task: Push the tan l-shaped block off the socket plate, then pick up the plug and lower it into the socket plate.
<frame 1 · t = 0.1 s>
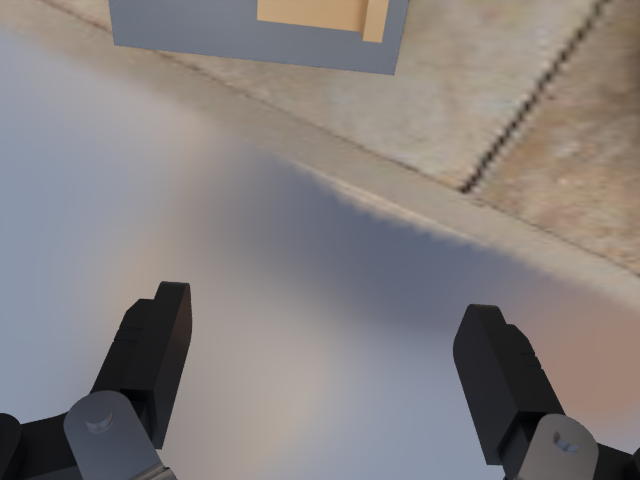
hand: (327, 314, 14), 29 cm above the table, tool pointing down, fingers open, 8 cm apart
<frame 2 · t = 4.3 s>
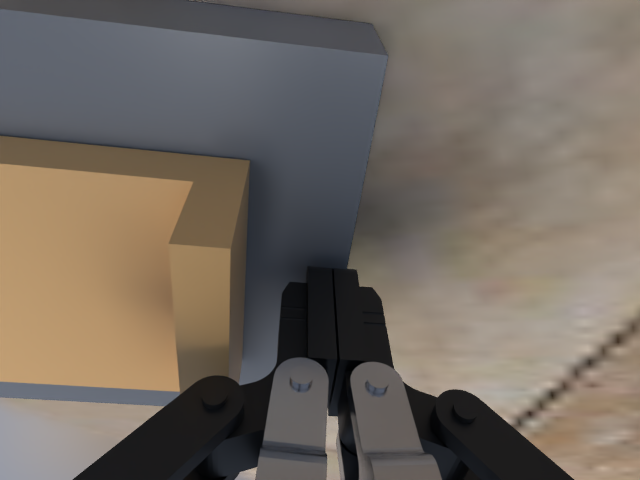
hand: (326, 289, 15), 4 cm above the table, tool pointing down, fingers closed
socket plate: (63, 197, 17), on the table
tan l-shaped block: (89, 311, 13), point 6 cm above the table, slide at 1.1 cm, touching gripper
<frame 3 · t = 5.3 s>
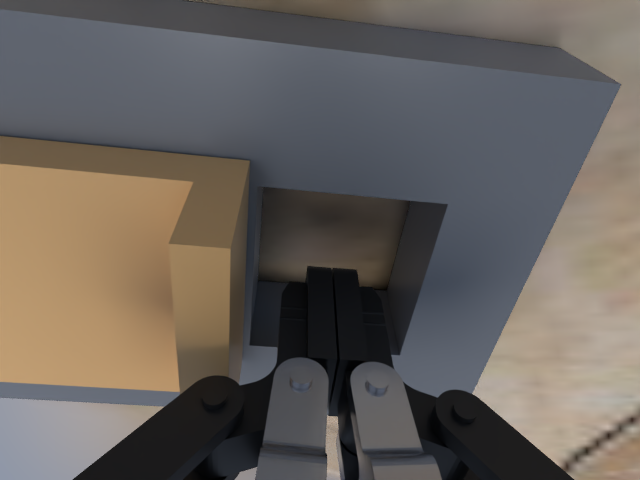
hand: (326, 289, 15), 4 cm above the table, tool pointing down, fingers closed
socket plate: (226, 212, 18), on the table
tan l-shaped block: (89, 311, 13), point 6 cm above the table, slide at 6.9 cm, touching gripper
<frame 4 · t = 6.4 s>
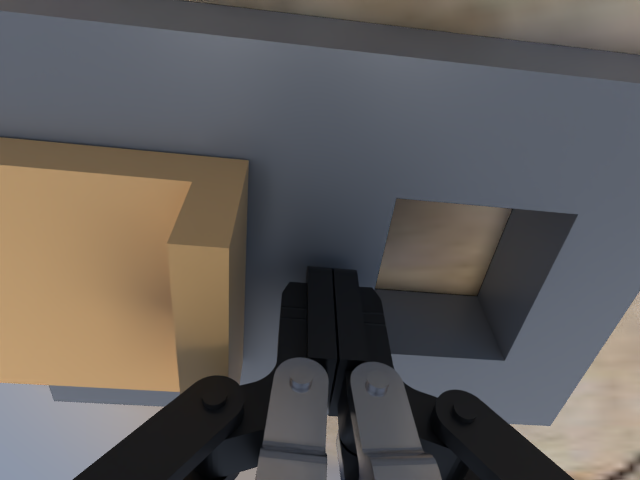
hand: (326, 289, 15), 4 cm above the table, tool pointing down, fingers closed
socket plate: (331, 221, 18), on the table
tan l-shaped block: (89, 312, 13), point 6 cm above the table, slide at 10.8 cm, touching gripper
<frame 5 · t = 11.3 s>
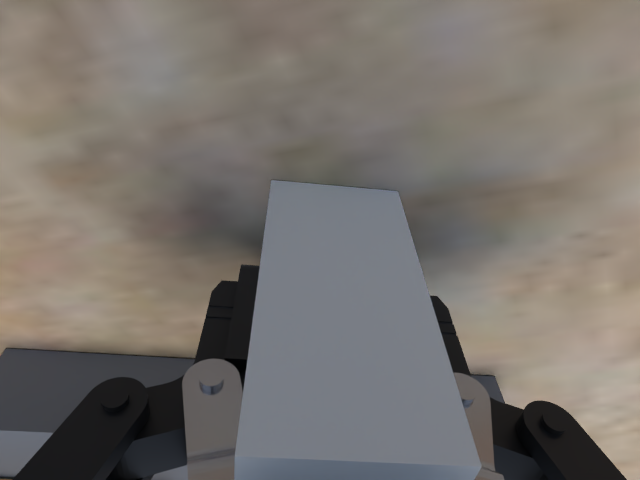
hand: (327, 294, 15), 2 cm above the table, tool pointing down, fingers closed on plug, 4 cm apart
socket plate: (254, 456, 24), on the table
plug: (325, 249, 16), on the table, touching gripper
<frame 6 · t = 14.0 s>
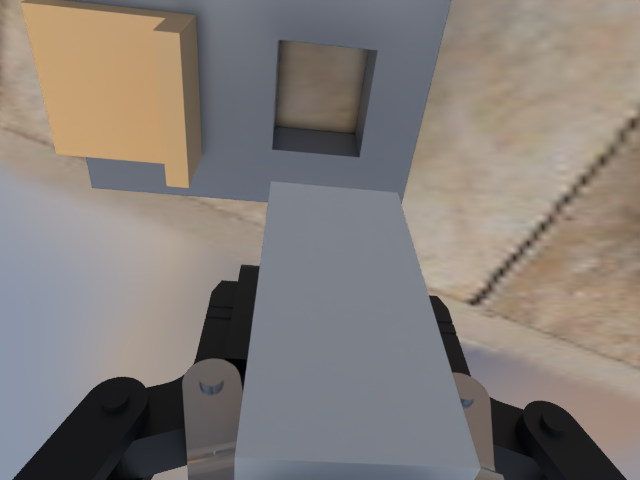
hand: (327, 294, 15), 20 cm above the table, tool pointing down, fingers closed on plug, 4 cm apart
socket plate: (257, 76, 30), on the table
plug: (325, 250, 16), point 17 cm above the table, touching gripper
tan l-shaped block: (114, 96, 25), point 6 cm above the table, slide at 10.9 cm
when the fingers open (4 cm above the table, at t = 16.9 s): plug drops 2 cm, resting in socket plate.
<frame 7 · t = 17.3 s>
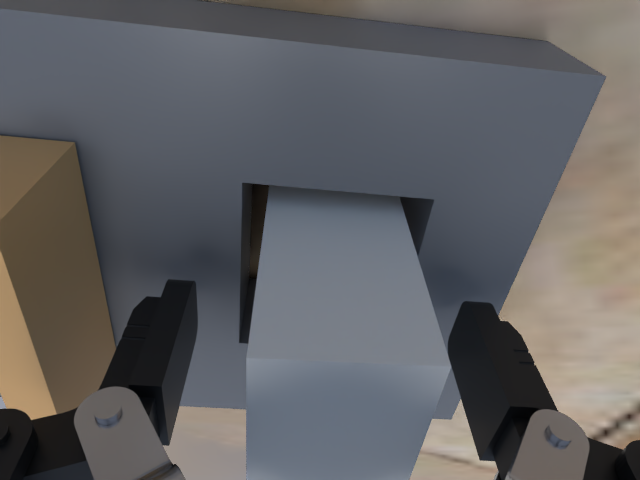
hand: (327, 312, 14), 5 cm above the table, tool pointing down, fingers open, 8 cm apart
socket plate: (215, 209, 18), on the table
plug: (324, 217, 18), resting in socket plate
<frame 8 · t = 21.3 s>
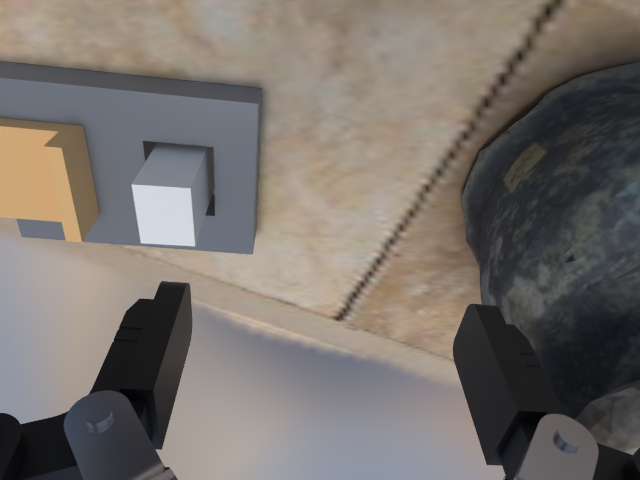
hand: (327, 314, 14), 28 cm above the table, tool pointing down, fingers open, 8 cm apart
socket plate: (142, 156, 41), on the table
clay pot: (595, 186, 44), on the table
plug: (190, 160, 42), resting in socket plate
tan l-shaped block: (28, 180, 36), point 6 cm above the table, slide at 10.9 cm
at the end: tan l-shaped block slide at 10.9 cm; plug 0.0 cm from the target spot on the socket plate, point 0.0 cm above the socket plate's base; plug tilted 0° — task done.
